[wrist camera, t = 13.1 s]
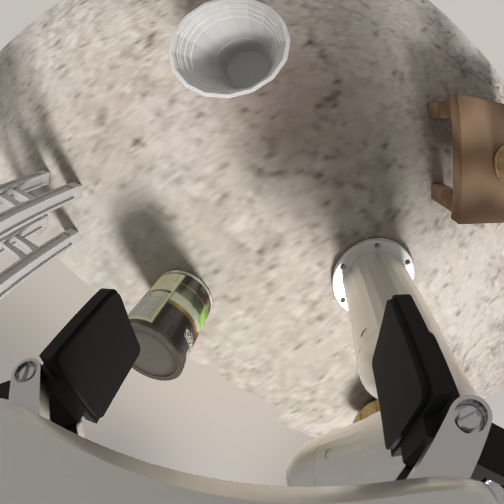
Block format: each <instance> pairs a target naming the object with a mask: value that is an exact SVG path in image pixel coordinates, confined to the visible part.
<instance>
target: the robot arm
mask: <svg viewBox="0 0 504 504" xmlns="http://www.w3.org/2000/svg"><path fill="white" fill-rule="evenodd" d="M376 243H377V245H375V244H376ZM341 264H344V265H341ZM414 278H415V269H414V263H413V261H412V258H411V256H410V255H409V253H408V252H407V251H406V250H405V248H404V247H403V246H401V245H400V244H399V243H397V242H395V241H393V240H390V239H385V238H372V239H367V240H364V241H361V242H359V243H357V244H355V245H354V246H352V247H350V248H349V249H348V250H347V251H346V252H345V253H344V254H343V255H342V256H341V258H340V259H339V260H338V262H337V264H336V266H335V269H334V272H333V277H332V285H333V291H334V295H335V297H336V299H337V301H338V302H339V304H340V305H341V306H342V307H343V308H344V309H346V310H347V311H348V313H349V318H350V323H351V329H352V334H353V340H354V346H355V353H356V359H357V365H358V371H359V376H360V379H361V382H362V384H363V386H364V387H365V389H366V390H367V391H368V392H369V393H370V394H371V395H372V396H373V397H375V398H376V399H378V401H379V407H380V411H378V412H376V413H374V414H372V415H370V416H369V417H367V418H365V419H363V420H360V421H358V422H356V423H353V424H351V425H348V426H346V427H343V428H341V429H338V430H335V431H333V432H330V433H328V434H325V435H322V436H320V437H317V438H315V439H313V440H311V441H309V442H307V443H305V444H304V445H302V446H301V447H300V448H299V449H298V450H296V452H295V453H294V454H293V456H292V457H291V459H290V461H289V463H288V467H287V473H286V480H287V487H286V486H268V485H257V484H247V483H239V482H232V481H225V480H219V479H214V478H208V477H202V476H198V475H193V474H189V473H184V472H180V471H176V470H172V469H169V468H165V467H161V466H158V465H155V464H151V463H148V462H145V461H142V460H139V459H135V458H133V457H130V456H127V455H124V454H122V453H119V452H116V451H114V450H111V449H109V448H106V447H103V446H101V445H99V444H97V443H94V442H92V441H90V440H88V439H85V436H84V431H83V426H82V420H81V418H82V416H84V417H85V419H87V420H89V421H91V422H94V423H97V422H98V420H99V418H101V417H103V416H104V414H105V412H106V410H107V409H108V407H109V405H110V404H111V402H112V400H113V398H114V397H115V395H116V393H117V391H118V390H119V388H120V386H121V384H122V383H123V381H124V379H125V378H126V376H127V374H128V373H129V371H130V369H131V368H132V366H133V364H134V363H135V361H136V359H137V358H138V356H139V354H140V345H139V342H138V340H137V338H136V335H135V333H134V330H133V328H132V325H131V323H130V320H129V318H128V315H127V312H126V310H125V307H124V304H123V301H122V299H121V296H120V295H119V294H118V293H117V291H116V290H114V289H100V290H99V291H98V292H97V293H96V294H95V295H94V296H93V297H92V298H91V299H90V300H89V301H88V302H87V303H86V304H85V305H84V306H83V307H82V308H81V310H80V311H79V312H78V313H77V314H76V315H75V316H74V317H73V318H72V319H71V320H70V321H69V322H68V323H67V325H66V326H65V327H64V328H63V329H62V330H61V331H60V333H58V335H57V336H56V337H55V338H54V339H53V340H52V341H51V343H50V344H49V345H48V346H47V347H46V348H45V350H44V351H43V352H42V353H41V354H40V357H41V359H42V361H43V362H44V364H43V365H41V364H40V362H39V361H38V360H37V359H35V358H29V359H25V360H23V361H21V362H20V363H19V364H18V365H17V366H16V367H15V368H14V370H13V372H12V375H11V380H10V381H7V382H4V383H1V384H0V504H504V429H503V428H501V427H499V426H497V425H495V424H493V423H492V411H491V409H490V407H489V405H488V404H487V403H486V401H485V400H483V399H482V398H480V397H479V395H478V394H477V392H476V391H475V389H474V388H473V386H472V385H471V383H470V382H469V380H468V379H467V377H466V375H465V374H464V372H463V370H462V369H461V367H460V366H459V364H458V362H457V360H456V358H455V357H454V355H453V353H452V351H451V349H450V347H449V345H448V343H447V342H446V340H445V338H444V336H443V334H442V332H441V330H440V328H439V326H438V324H437V322H436V320H435V318H434V316H433V315H432V313H431V311H430V309H429V307H428V305H427V304H426V302H425V300H424V298H423V297H422V295H421V293H420V291H419V290H418V288H417V286H416V285H415V283H414Z"/></svg>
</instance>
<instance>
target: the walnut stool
mask: <svg viewBox="0 0 504 504" xmlns="http://www.w3.org/2000/svg"><path fill="white" fill-rule="evenodd" d="M428 110H429V118H438V119H451V121H452V135H453V188H451V187H449V186H447V185H445V184H432V199H433V200H435V201H437V202H438V203H440V204H441V205H443V206H444V207H445V208H447V209H448V210H450V211H451V212H452V215H451V218H452V219H453V220H454V221H456V222H457V223H458V224H475V223H504V183H502V182H501V181H500V180H499V179H498V177H497V175H496V172H495V168H494V158H495V155H496V153H497V151H498V149H499V148H500V147H502V146H504V104H502V103H498V102H493V101H489V100H485V99H480V98H475V97H470V96H464V95H459V94H456V95H449V101H441V102H433V103H428Z"/></svg>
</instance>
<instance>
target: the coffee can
mask: <svg viewBox="0 0 504 504" xmlns="http://www.w3.org/2000/svg"><path fill="white" fill-rule="evenodd" d="M211 309H212V297H211V294H210V291H209V289H208V288H207V286H206V285H205V284H204V283H203V282H202V281H201V280H200V279H199V278H198V277H196V276H195V275H193V274H191V273H189V272H186V271H181V270H172V271H168V272H165V273H164V274H163V275H161V276H160V277H159V279H158V280H157V282H156V283H155V284H154V285H153V286H152V287H151V289H150V290H149V291H148V292H147V293H146V294H145V296H144V297H143V298H142V299H141V300H140V301H139V303H138V304H137V305H136V306H135V307H134V309H133V310H132V311H131V312H130V313H129V315H128V318H129V320H130V323H131V325H132V328H133V330H134V333H135V335H136V338H137V340H138V342H139V345H140V354H139V356H138V358H137V359H136V361H135V363H134V364H133V366H132V368H133V369H135V370H136V371H138V372H139V373H141V374H143V375H145V376H148V377H150V378H153V379H157V380H172V379H175V378H177V377H178V376H179V375H180V374H181V372H182V370H183V368H184V364H185V362H186V360H187V358H188V356H189V354H190V352H191V349H192V347H193V345H194V343H195V341H196V339H197V337H198V335H199V333H200V331H201V329H202V327H203V324H204V322H205V320H206V318H207V316H208V315H209V313H210V311H211Z"/></svg>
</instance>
